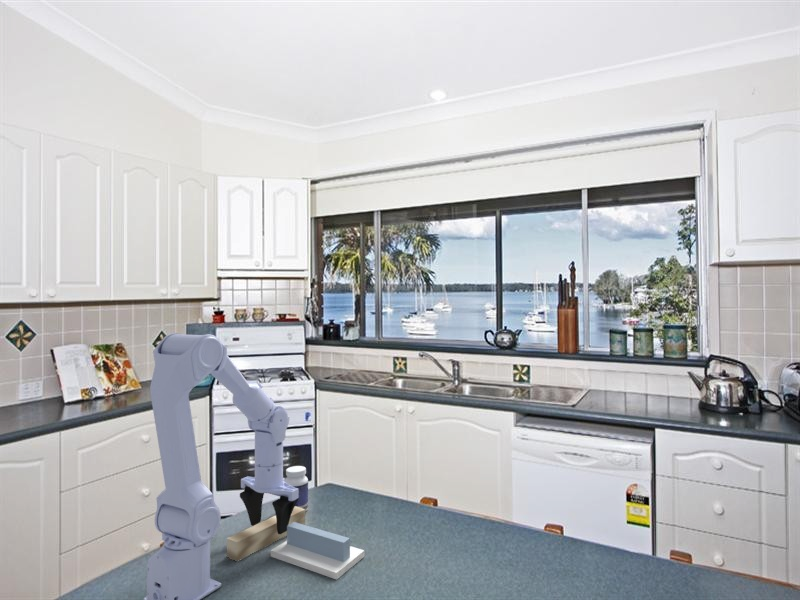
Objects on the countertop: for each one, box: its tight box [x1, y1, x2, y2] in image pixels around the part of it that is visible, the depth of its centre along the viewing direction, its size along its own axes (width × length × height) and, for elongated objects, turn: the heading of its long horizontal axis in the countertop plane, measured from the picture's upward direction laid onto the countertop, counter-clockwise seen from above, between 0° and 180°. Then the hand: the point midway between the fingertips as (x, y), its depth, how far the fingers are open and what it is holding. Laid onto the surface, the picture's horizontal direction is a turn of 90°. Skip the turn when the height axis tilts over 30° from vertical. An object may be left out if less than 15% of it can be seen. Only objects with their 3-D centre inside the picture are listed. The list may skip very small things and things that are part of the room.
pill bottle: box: [285, 465, 309, 513], centre depth 114 cm, size 6×6×10 cm
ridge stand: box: [270, 522, 366, 580], centre depth 93 cm, size 9×16×5 cm, turn 61°
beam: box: [226, 506, 306, 562], centre depth 99 cm, size 18×3×4 cm, turn 146°
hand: (268, 527), depth 99 cm, fingers open, 7 cm apart
